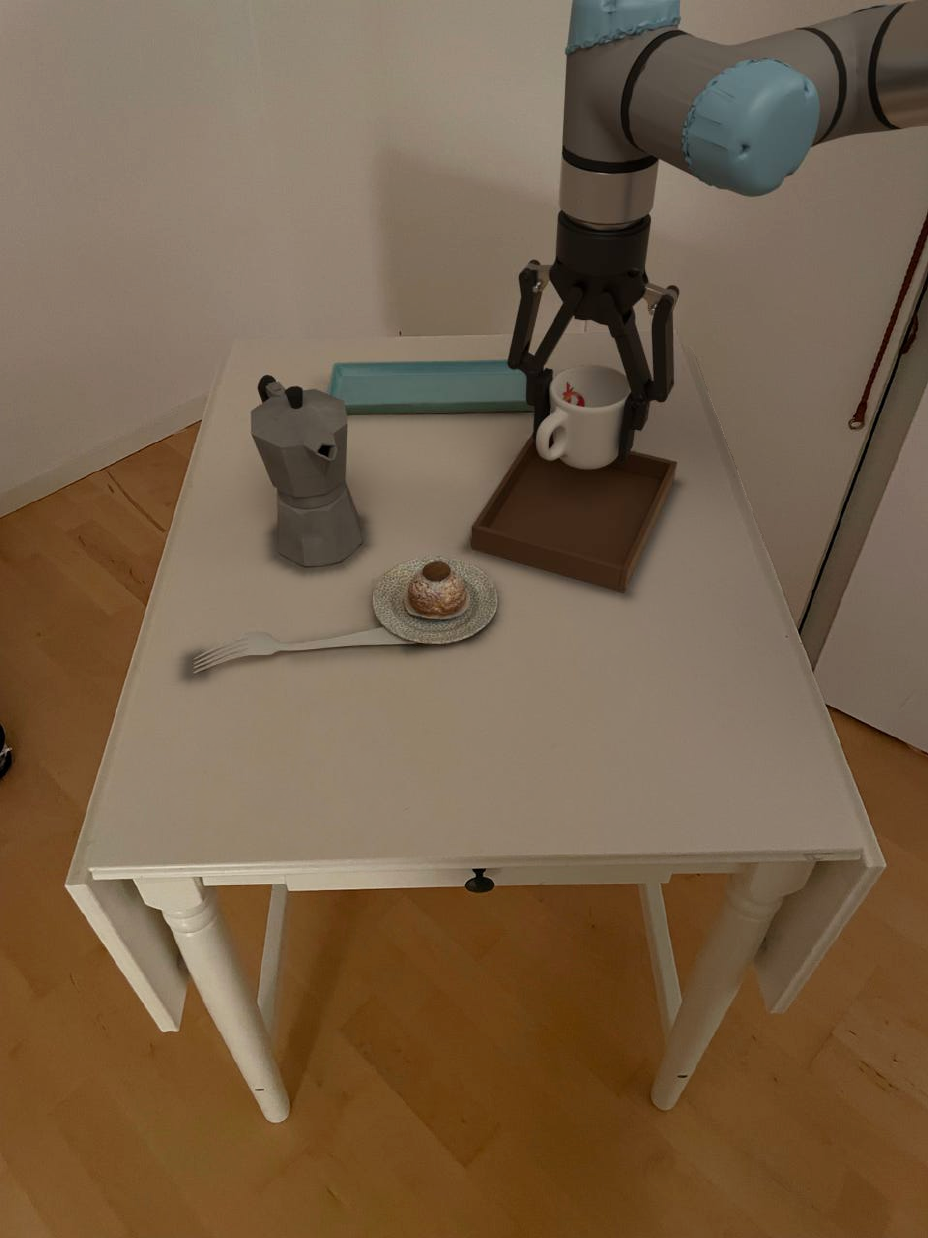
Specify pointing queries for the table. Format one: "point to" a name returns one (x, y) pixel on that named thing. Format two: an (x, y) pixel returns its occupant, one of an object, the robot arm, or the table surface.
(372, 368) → the shallow long dish
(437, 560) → the pastry
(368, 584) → the table surface
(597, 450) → the cup
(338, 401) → the coffeepot
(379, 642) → the fork
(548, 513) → the tray
